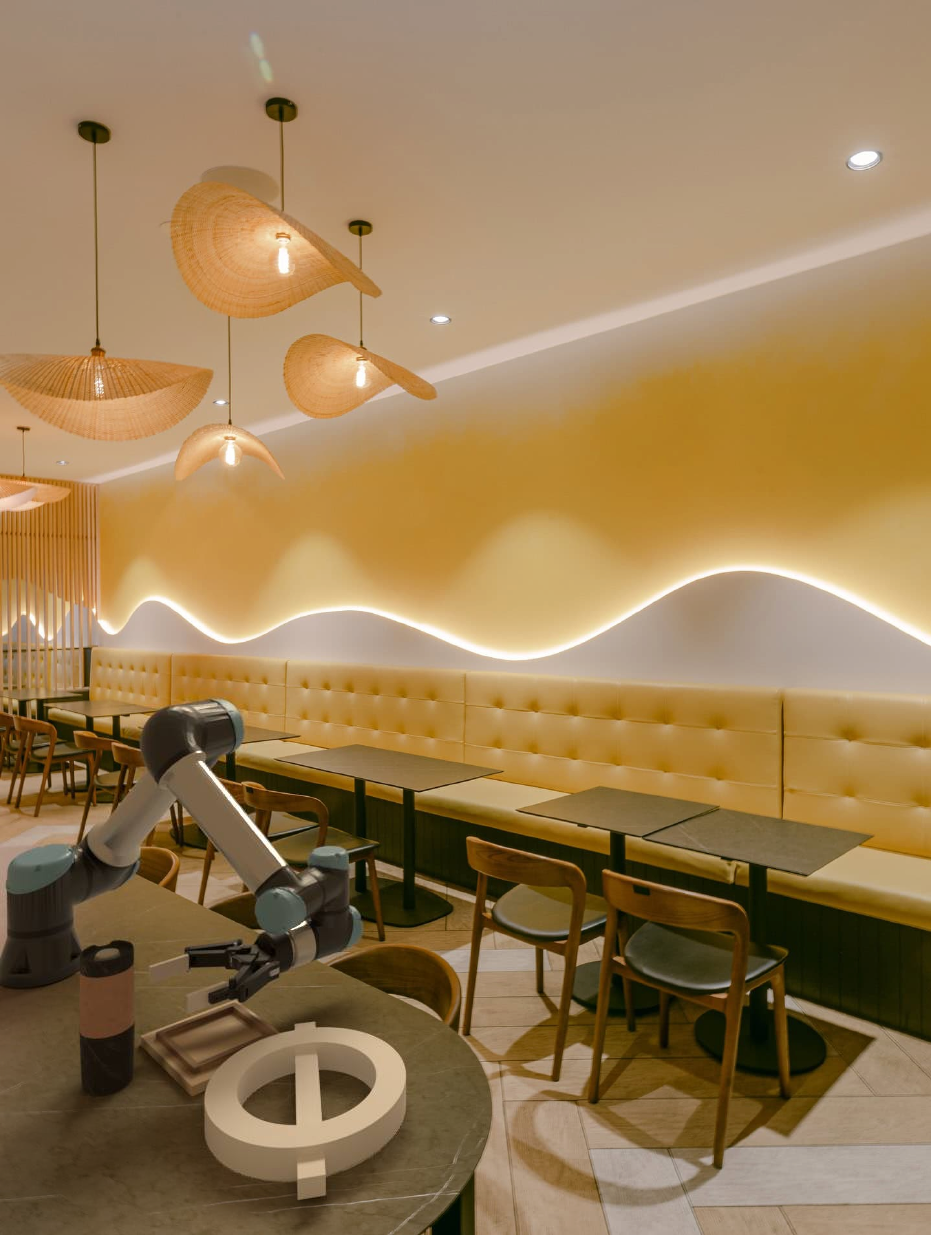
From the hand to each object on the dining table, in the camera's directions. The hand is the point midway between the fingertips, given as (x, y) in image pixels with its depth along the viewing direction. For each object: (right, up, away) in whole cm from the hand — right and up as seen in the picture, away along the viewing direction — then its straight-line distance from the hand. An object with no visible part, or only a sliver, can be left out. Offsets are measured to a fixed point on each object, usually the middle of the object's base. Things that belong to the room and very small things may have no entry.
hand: (167, 989), depth 124 cm
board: (+7, -11, +3) cm, 13 cm away
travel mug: (-7, -11, -6) cm, 14 cm away
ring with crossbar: (+25, -12, -13) cm, 31 cm away
